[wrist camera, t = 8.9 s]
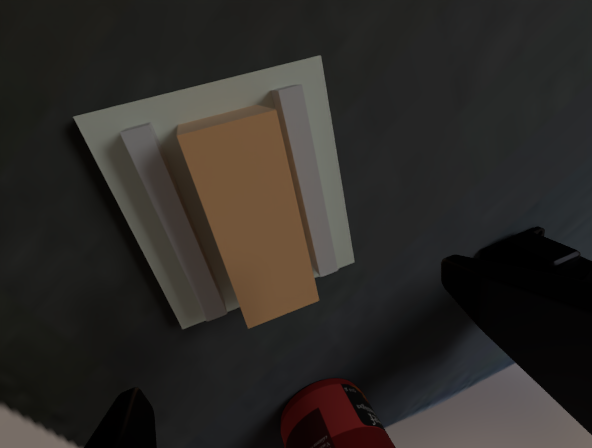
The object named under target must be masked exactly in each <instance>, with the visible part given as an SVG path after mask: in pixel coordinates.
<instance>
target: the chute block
mask: <svg viewBox="0 0 592 448" xmlns="http://www.w3.org/2000/svg"><path fill="white" fill-rule="evenodd" d="M177 138H178V141H179V144H180V146H181V149H182V152H183V155H184V157H185V160H186V163H187V165H188V168H189V171H190V173H191V176H192V179H193V181H194V184H195V187H196V189H197V192H198V195H199V197H200V200H201V203H202V206H203V208H204V211H205V214H206V216H207V219H208V222H209V224H210V227H211V230H212V232H213V235H214V238H215V240H216V243H217V246H218V249H219V251H220V254H221V257H222V259H223V262H224V265H225V267H226V270H227V273H228V275H229V278H230V281H231V283H232V286H233V289H234V292H235V294H236V297H237V300H238V302H239V305H240V308H241V310H242V313H243V316H244V318H245V321H246V324H247V326H248V329H249V328H251V327H254V326H256V325H259V324H261V323H264V322H266V321H269V320H271V319H274V318H277V317H279V316H282V315H284V314H287V313H289V312H292V311H294V310H297V309H299V308H302V307H304V306H307V305H309V304H312V303H314V302H317V301H319V297H318V293H317V288H316V284H315V279H314V275H313V270H312V266H311V261H310V257H309V253H308V248H307V244H306V239H305V235H304V230H303V226H302V221H301V217H300V213H299V208H298V204H297V199H296V195H295V190H294V186H293V181H292V177H291V172H290V168H289V164H288V159H287V155H286V150H285V146H284V141H283V137H282V132H281V128H280V123H279V119H278V115H277V110H276V109H272V108H268V107H264V106H259V105H253V106H249V107H246V108H242V109H238V110H234V111H230V112H226V113H222V114H218V115H214V116H210V117H207V118H203V119H199V120H195V121H191V122H187V123H183V124H179V125H178V128H177Z"/></svg>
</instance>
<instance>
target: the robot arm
mask: <svg viewBox="0 0 592 448" xmlns="http://www.w3.org/2000/svg"><path fill="white" fill-rule="evenodd" d="M544 232H545V230H544V229H543V228H541V227H535V228H532V229H530V230H528V231H525V232H523V233H521V234H518V235H516V236H513V237H511V238H509V239H506V240H504V241H501V242H499V243H497V244H494V245H492V246H489V247H487V248H485V249H483V251H482V252H481V255H480V259H475V258H470V257H465V256H460V255H451V256H449V257H446V258H444V259H443V260H442V262H441V281H442V284H443V286H444V288H445V289H446V290H447V291H448V293H449V294H450V295H451V296H452V297H453V298H454V299H455V301H456V302H457V303H458V304H459V305H460V306H461V308H462V309H463V310H464V311H465V312H466V313H467V314H468V316H469V317H470V318H471V319H472V320H473V321H474V322H475V324H476V325H477V326H478V327H479V328H480V329H481V330H482V331H483V332H484V333H485V334H486V335H487V336H488V337H489V338H490V339H491V340H493V341H494V342H495V343H496V344H497V345H498V346H499V347H500V348H501V349H502V350H503V351H504V352H505V353H506V354H507V355H508V356H509V357H510V358H511V359H512V360H514V361H515V362H516V363H517V364H518V365H519V366H520V367H521V368H522V369H523V370H524V371H525V372H526V373H527V374H528V375H529V376H530V377H531V378H533V380H535V381H536V382H537V383H538V384H539V385H540V386H541V387H542V388H543V389H544V390H545V391H546V392H547V393H548V394H549V395H550V396H551V397H552V398H553V399H554V400H556V401H557V402H558V403H559V404H560V405H561V406H562V407H563V408H564V409H565V410H566V411H567V412H568V413H569V414H570V415H571V416H572V417H573V418H574V419H576V421H578V422H579V423H580V424H581V425H582V426H583V427H584V428H585V429H586V430H587V431H588V432H589V433H590V434H591V435H592V261H590V260H588V259H586V258H583V257H581V256H580V252H579V251H577V250H575V249H573V248H570V247H568V246H565V245H563V244H561V243H558V242H556V241H553V240H551V239H549V238H546V237H544ZM84 448H157V446H156V431H155V417H154V411H153V408H152V406H151V404H150V403H149V401H148V400H147V398H146V397H145V395H144V394H143V392H142V391H141V390H140V389H139V388H138V387H134V388H132V389H129V390H127V391H125V392H122V393H121V394H120V395H119V396H118V397H117V398H116V400H115V401H114V403H113V404H112V406H111V407H110V409H109V410H108V412H107V413H106V415H105V417H104V418H103V420H102V421H101V423H100V424H99V426H98V427H97V429H96V430H95V432H94V433H93V435H92V436H91V438H90V439H89V441H88V442H87V444H86V445H85V447H84Z"/></svg>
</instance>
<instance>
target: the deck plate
mask: <svg viewBox="0 0 592 448" xmlns="http://www.w3.org/2000/svg"><path fill="white" fill-rule="evenodd" d="M253 105H259V106H264V107H268V108H272V109H276V110H277V115H278V119H279V123H280V128H281V132H282V137H283V141H284V146H285V150H286V155H287V159H288V164H289V168H290V172H291V177H292V181H293V186H294V190H295V195H296V199H297V204H298V208H299V213H300V217H301V221H302V226H303V230H304V235H305V239H306V244H307V248H308V253H309V257H310V261H311V266H312V270H313V275H314V278H315V277H318V276H320V277H323V276H325V275H328V274H331V273H333V272H336V271H338V268H341V267H343V266H346V265H348V264H351V263H354V256H353V250H352V244H351V238H350V232H349V225H348V219H347V213H346V207H345V201H344V195H343V189H342V183H341V176H340V170H339V164H338V158H337V152H336V146H335V140H334V133H333V127H332V121H331V115H330V109H329V103H328V97H327V90H326V84H325V78H324V72H323V66H322V60H321V55H320V56H316V57H312V58H308V59H304V60H299V61H295V62H291V63H287V64H283V65H279V66H275V67H271V68H267V69H263V70H259V71H255V72H251V73H247V74H243V75H239V76H235V77H231V78H227V79H223V80H219V81H215V82H211V83H207V84H203V85H199V86H195V87H191V88H187V89H183V90H179V91H175V92H171V93H167V94H163V95H159V96H155V97H150V98H146V99H142V100H138V101H134V102H130V103H126V104H122V105H118V106H114V107H110V108H106V109H102V110H98V111H94V112H90V113H86V114H82V115H78V116H74V117H73V118H74V120H75V122H76V124H77V125H78V127H79V129H80V131H81V133H82V135H83V137H84V139H85V141H86V143H87V145H88V147H89V149H90V151H91V153H92V155H93V156H94V158H95V160H96V162H97V164H98V166H99V168H100V170H101V172H102V174H103V176H104V178H105V180H106V182H107V184H108V186H109V187H110V189H111V191H112V193H113V195H114V197H115V199H116V201H117V203H118V205H119V207H120V209H121V211H122V213H123V215H124V217H125V218H126V220H127V222H128V224H129V226H130V228H131V230H132V232H133V234H134V236H135V238H136V240H137V242H138V244H139V246H140V248H141V249H142V251H143V253H144V255H145V257H146V259H147V261H148V263H149V265H150V267H151V269H152V271H153V273H154V275H155V277H156V279H157V280H158V282H159V284H160V286H161V288H162V290H163V292H164V294H165V296H166V298H167V300H168V302H169V304H170V306H171V308H172V310H173V312H174V313H175V315H176V317H177V319H178V321H179V323H180V325H181V327H182V329H185V328H187V327H190V326H193V325H195V324H198V323H200V322H203V321H205V320H207V322H208V321H211V320H213V319H216V318H218V317H221V316H224V315H226V314H227V312H228V311H231V310H233V309H236V308H239V307H240V305H239V302H238V300H237V297H236V294H235V292H234V289H233V286H232V283H231V281H230V278H229V275H228V273H227V270H226V267H225V265H224V262H223V259H222V257H221V254H220V251H219V249H218V246H217V243H216V240H215V238H214V235H213V232H212V230H211V227H210V224H209V222H208V219H207V216H206V214H205V211H204V208H203V206H202V203H201V200H200V197H199V195H198V192H197V189H196V187H195V184H194V181H193V179H192V176H191V173H190V171H189V168H188V165H187V163H186V160H185V157H184V155H183V152H182V149H181V146H180V144H179V141H178V138H177V128H178V125H179V124H183V123H187V122H191V121H195V120H199V119H203V118H207V117H210V116H214V115H218V114H222V113H226V112H230V111H234V110H238V109H242V108H246V107H249V106H253Z"/></svg>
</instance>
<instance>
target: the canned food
mask: <svg viewBox="0 0 592 448" xmlns="http://www.w3.org/2000/svg"><path fill="white" fill-rule="evenodd" d="M281 436H282V439H283V443H284V446H285V448H395V446H394V444H393V443H392V441H391V439H390V438H389V436H388V434H387V433H386V431H385V429H384V428H383V426H382V424H381V423H380V421H379V419H378V418H377V416H376V414H375V412H374V411H373V409H372V407H371V406H370V404H369V402H368V401H367V399H366V397H365V396H364V394H363V393H362V391H361V390H360V389H359V388H358V387H356V386H355V385H354V384H353V383H352V382H350V381H348V380H345V379H338V378H333V379H325V380H321V381H318V382H316V383H313V384H311V385H309V386H307V387H305V388H304V389H302V390H301V391H300V392H298V393H297V394H296V395H295V396H294V397H293V398H292V399H291V400H290V401H289V402H288V404H287V405H286V407H285V408H284V410H283V413H282V416H281Z"/></svg>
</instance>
